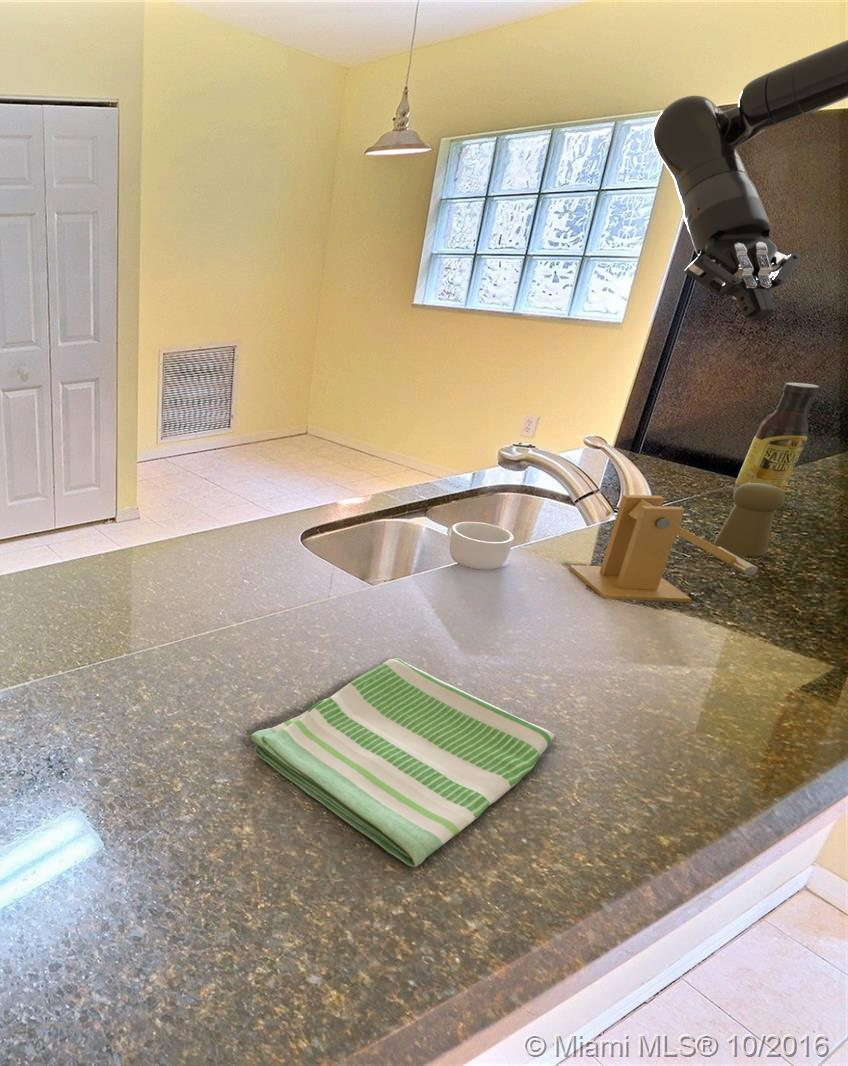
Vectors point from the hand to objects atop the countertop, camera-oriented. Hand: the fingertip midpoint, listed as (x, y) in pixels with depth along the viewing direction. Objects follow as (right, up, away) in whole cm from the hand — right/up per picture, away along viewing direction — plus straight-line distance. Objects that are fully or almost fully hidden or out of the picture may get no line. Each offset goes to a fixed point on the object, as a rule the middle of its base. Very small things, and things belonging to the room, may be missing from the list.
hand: (761, 317), depth 92 cm
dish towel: (-59, -50, -24) cm, 81 cm away
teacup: (-31, -33, +13) cm, 47 cm away
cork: (+8, -32, +12) cm, 35 cm away
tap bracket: (-15, -36, +4) cm, 39 cm away
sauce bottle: (+31, -22, +32) cm, 50 cm away
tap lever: (-10, -30, 0) cm, 31 cm away
